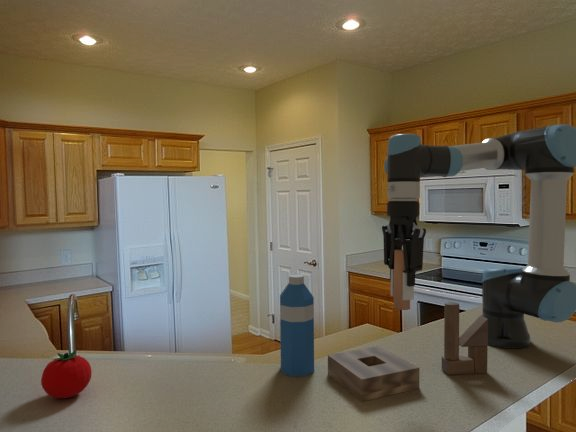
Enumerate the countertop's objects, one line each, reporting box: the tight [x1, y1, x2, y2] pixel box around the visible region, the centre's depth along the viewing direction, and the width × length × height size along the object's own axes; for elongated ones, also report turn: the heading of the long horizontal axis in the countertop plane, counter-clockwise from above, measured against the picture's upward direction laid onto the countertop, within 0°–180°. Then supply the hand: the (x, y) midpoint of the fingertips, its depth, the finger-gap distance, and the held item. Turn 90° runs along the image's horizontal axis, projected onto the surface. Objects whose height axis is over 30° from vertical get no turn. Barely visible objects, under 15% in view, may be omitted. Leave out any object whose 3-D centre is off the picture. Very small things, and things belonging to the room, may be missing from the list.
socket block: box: [327, 345, 420, 402], centre depth 104 cm, size 16×16×5 cm
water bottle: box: [279, 274, 315, 377], centre depth 111 cm, size 9×9×25 cm
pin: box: [393, 248, 411, 311], centre depth 101 cm, size 4×4×14 cm
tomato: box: [40, 350, 93, 399], centre depth 98 cm, size 10×10×10 cm
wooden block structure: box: [441, 301, 489, 376], centre depth 109 cm, size 4×11×18 cm, turn 95°
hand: (401, 297), depth 101 cm, fingers closed on pin, 4 cm apart
